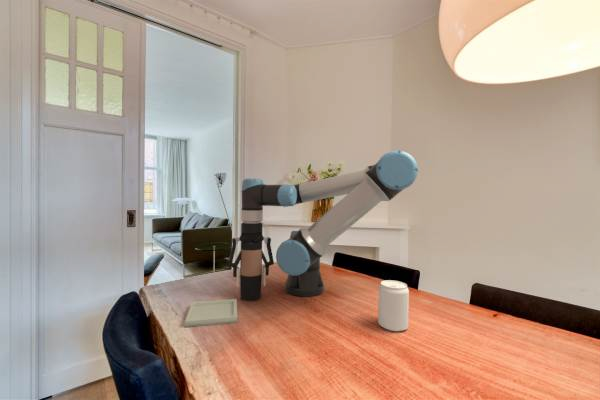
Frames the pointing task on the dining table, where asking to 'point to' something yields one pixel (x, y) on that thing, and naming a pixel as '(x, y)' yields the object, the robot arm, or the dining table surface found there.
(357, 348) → the dining table surface
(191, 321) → the tray
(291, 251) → the robot arm
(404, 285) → the beverage can
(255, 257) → the travel mug
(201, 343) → the dining table surface
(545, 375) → the dining table surface
